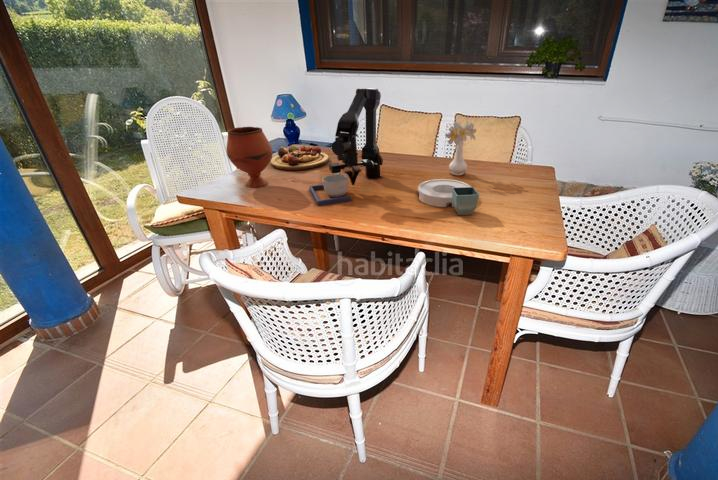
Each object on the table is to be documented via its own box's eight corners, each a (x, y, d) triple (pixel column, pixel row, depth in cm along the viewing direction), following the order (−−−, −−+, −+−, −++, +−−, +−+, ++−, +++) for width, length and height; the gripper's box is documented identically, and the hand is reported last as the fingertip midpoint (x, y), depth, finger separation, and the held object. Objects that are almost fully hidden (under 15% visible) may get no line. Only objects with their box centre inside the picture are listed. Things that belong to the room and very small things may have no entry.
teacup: (343, 200, 152) (341, 182, 147) (320, 198, 154) (317, 180, 149) (354, 189, 163) (353, 172, 159) (332, 187, 165) (330, 170, 161)
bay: (339, 185, 167) (339, 182, 166) (350, 200, 152) (350, 196, 151) (309, 189, 163) (309, 185, 162) (317, 205, 147) (317, 201, 146)
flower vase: (440, 177, 176) (443, 124, 163) (450, 167, 190) (454, 117, 177) (465, 181, 172) (471, 126, 158) (474, 170, 186) (480, 119, 173)
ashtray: (406, 197, 154) (406, 188, 152) (438, 184, 169) (438, 175, 167) (451, 211, 141) (452, 202, 139) (481, 195, 156) (482, 186, 154)
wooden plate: (312, 173, 183) (310, 157, 178) (258, 168, 191) (255, 152, 186) (338, 156, 209) (337, 142, 204) (290, 153, 216) (288, 138, 212)
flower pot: (449, 208, 144) (451, 187, 139) (471, 207, 145) (473, 186, 140) (454, 217, 137) (456, 195, 132) (477, 216, 137) (479, 194, 132)
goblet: (282, 186, 167) (272, 130, 153) (239, 194, 158) (224, 135, 145) (272, 175, 180) (262, 123, 167) (232, 181, 172) (218, 127, 159)
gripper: (365, 143, 160) (367, 177, 168) (324, 147, 154) (328, 182, 162) (373, 148, 151) (375, 184, 159) (329, 153, 145) (334, 190, 154)
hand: (353, 185), depth 159 cm, fingers closed
